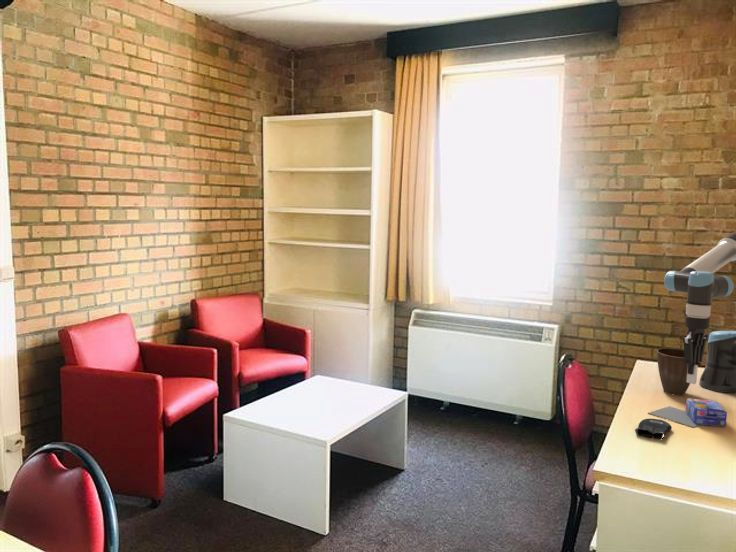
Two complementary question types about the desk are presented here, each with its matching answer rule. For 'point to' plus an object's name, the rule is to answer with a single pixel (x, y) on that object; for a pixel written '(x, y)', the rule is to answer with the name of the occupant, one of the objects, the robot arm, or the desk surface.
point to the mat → (674, 416)
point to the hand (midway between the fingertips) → (691, 382)
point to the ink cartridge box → (706, 412)
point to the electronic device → (653, 427)
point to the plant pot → (672, 370)
